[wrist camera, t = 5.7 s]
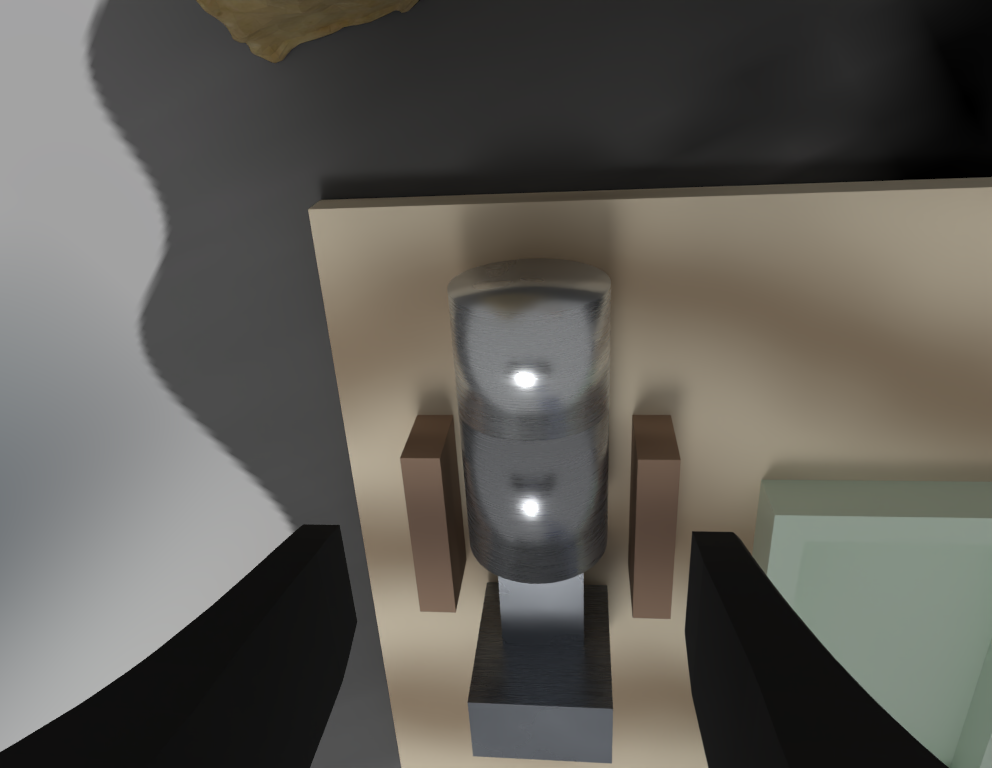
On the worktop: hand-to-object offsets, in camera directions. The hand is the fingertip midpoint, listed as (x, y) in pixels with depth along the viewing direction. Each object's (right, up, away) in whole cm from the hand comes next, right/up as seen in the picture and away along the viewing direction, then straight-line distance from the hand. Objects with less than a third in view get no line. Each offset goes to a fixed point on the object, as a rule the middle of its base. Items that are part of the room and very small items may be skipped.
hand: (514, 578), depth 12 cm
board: (+6, -2, +11) cm, 12 cm away
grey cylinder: (+1, +3, +8) cm, 8 cm away
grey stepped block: (+1, -2, +10) cm, 11 cm away
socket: (+1, 0, +10) cm, 10 cm away
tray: (+11, -4, +11) cm, 17 cm away
